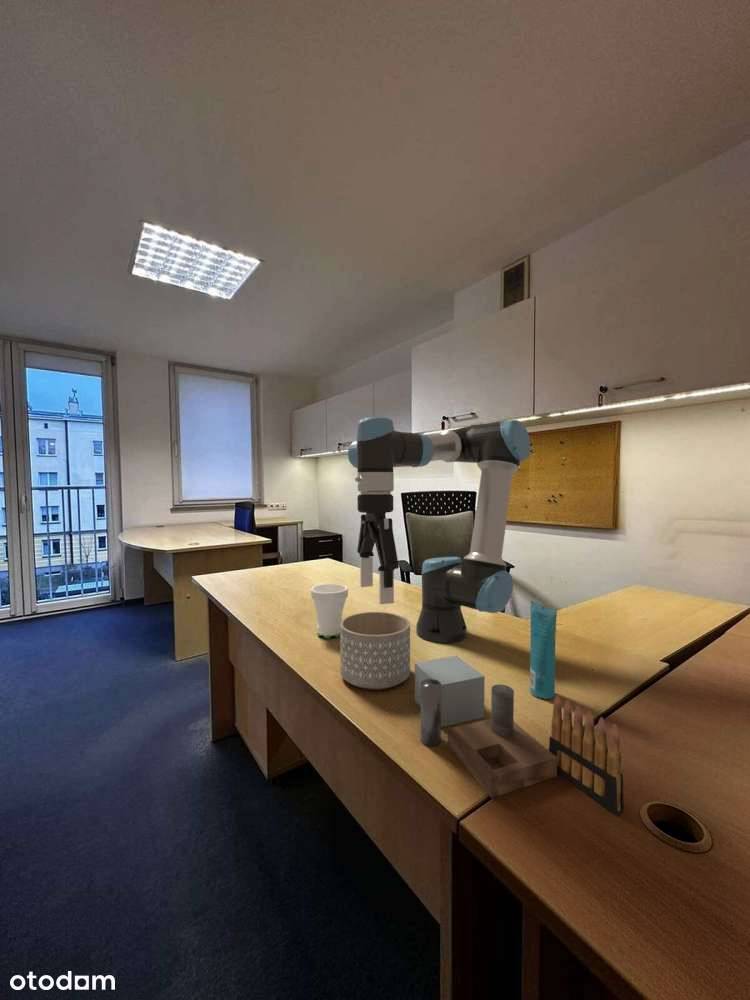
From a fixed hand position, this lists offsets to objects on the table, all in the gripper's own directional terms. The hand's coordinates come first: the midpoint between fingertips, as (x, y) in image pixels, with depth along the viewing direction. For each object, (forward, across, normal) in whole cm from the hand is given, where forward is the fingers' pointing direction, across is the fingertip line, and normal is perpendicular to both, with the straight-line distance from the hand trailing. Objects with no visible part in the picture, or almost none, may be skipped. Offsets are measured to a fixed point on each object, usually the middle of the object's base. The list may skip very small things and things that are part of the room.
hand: (375, 594), depth 82 cm
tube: (+22, +10, +34) cm, 42 cm away
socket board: (+22, +25, +13) cm, 36 cm away
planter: (+22, -9, +3) cm, 24 cm away
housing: (+22, +9, +12) cm, 27 cm away
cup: (+22, -38, -2) cm, 44 cm away
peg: (+22, +16, +5) cm, 28 cm away
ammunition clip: (+22, +33, +22) cm, 45 cm away
